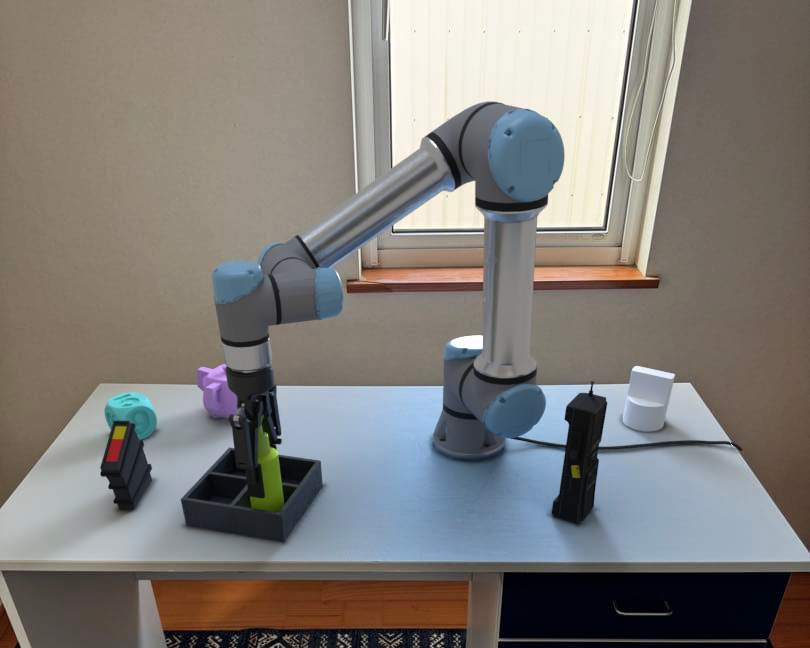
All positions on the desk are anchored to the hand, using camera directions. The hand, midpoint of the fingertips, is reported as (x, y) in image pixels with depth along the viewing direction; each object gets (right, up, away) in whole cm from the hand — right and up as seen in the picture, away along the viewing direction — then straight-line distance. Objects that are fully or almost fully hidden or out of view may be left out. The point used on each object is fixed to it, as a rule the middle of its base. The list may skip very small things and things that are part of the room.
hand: (264, 486), depth 134 cm
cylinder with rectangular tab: (+79, +17, +36) cm, 88 cm away
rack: (-3, -3, +9) cm, 10 cm away
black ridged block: (-27, -2, +12) cm, 30 cm away
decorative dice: (-35, +14, +32) cm, 49 cm away
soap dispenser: (0, -5, +4) cm, 7 cm away
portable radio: (+56, -5, +7) cm, 57 cm away
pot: (-14, +20, +40) cm, 47 cm away
